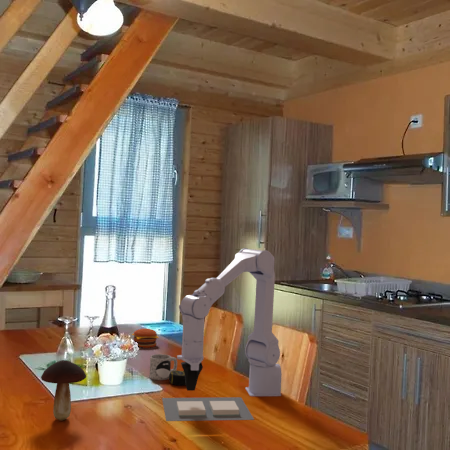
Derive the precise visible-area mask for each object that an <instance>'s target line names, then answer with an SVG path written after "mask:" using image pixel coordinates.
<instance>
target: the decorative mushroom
mask: <svg viewBox="0 0 450 450" xmlns="http://www.w3.org/2000/svg"><path fill="white" fill-rule="evenodd" d="M86 378H87V373H86V372H85V370H84V369H83V368H82V367H81V366H79V365H78V364H76V363H75V362H72V361H69V360H66V359H65V360H58V361H57V362H54V363H52V364H51V365H50V366H48V367H47V368H45V370H44V371H43V373H42V374H41V376H40V380H41V381H43V382H45V383H49V384H50V383H51V384H56V386H55V387H56V388H55V392H54V398H53V409H52V412H53V417H54V419H55V420H58V421H65V420H67V419H68V418H69V417H70V416H71V410H72V397H71V395H72V394H71V388H70V384H73V383H80V382H83V381H84V380H86Z"/></svg>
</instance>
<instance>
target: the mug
mask: <svg viewBox="0 0 450 450" xmlns="http://www.w3.org/2000/svg"><path fill="white" fill-rule="evenodd" d="M149 358H150V359H149V379H151V380H154V381H166V380H169V374H170V372H172V371H176V370H177V368H178V359H177V357H174V356H171V355H170V354H169V355H168V354H163V353H157V354H156V353H155V354H152V355H150V357H149ZM172 361H173V368H171V367H172V365H171V364H172Z"/></svg>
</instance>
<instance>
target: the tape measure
mask: <svg viewBox="0 0 450 450" xmlns="http://www.w3.org/2000/svg"><path fill="white" fill-rule="evenodd" d="M168 381H169V383H170V384H171V385H174V386H186V382H185V374H184V370H177V369H176V371H172V372H170V374H169V379H168Z"/></svg>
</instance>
